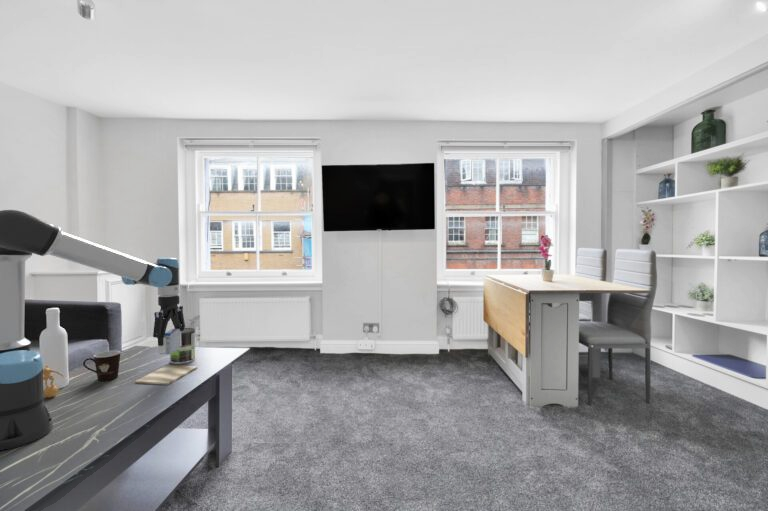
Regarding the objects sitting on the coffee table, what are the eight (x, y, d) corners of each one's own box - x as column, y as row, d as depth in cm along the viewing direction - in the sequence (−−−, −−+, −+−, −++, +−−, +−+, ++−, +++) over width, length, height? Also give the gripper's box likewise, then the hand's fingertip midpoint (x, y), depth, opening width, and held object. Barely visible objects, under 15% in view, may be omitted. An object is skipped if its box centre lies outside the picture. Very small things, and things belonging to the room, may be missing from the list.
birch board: (168, 384, 139) (168, 382, 139) (135, 383, 141) (135, 381, 141) (197, 368, 157) (197, 366, 157) (167, 366, 158) (167, 365, 158)
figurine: (68, 393, 131) (67, 360, 130) (60, 400, 125) (59, 366, 125) (39, 396, 128) (37, 363, 127) (29, 403, 122) (28, 369, 122)
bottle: (64, 381, 142) (62, 305, 141) (72, 385, 138) (70, 308, 136) (37, 388, 135) (34, 309, 134) (44, 392, 131) (42, 311, 130)
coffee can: (182, 365, 161) (182, 334, 160) (164, 362, 164) (164, 332, 163) (200, 357, 171) (200, 328, 170) (183, 355, 174) (183, 326, 173)
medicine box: (169, 348, 152) (169, 328, 152) (180, 348, 153) (180, 328, 152) (159, 354, 144) (159, 333, 144) (171, 354, 145) (170, 333, 144)
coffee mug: (126, 374, 149) (126, 351, 148) (108, 383, 140) (108, 357, 140) (100, 373, 150) (100, 349, 150) (81, 381, 141) (80, 356, 141)
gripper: (158, 300, 136) (160, 358, 137) (193, 291, 157) (195, 342, 159) (140, 299, 137) (142, 357, 138) (177, 291, 158) (179, 341, 159)
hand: (170, 349), depth 148 cm, fingers closed on medicine box, 8 cm apart
